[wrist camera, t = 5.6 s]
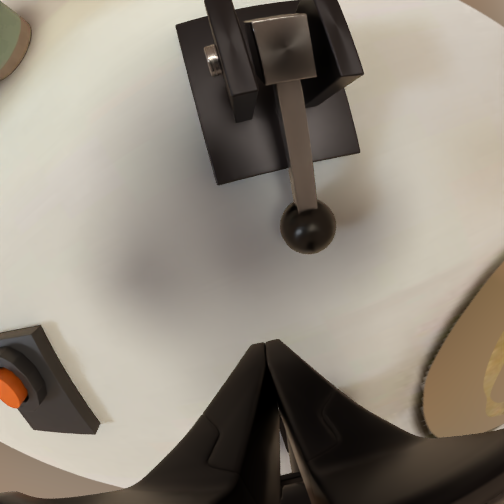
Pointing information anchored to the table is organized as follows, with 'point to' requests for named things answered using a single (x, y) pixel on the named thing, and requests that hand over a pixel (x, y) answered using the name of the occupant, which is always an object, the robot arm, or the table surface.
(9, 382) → the button
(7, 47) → the coffee cup
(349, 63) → the bracket
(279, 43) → the lever
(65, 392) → the button block
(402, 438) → the robot arm
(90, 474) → the table surface
